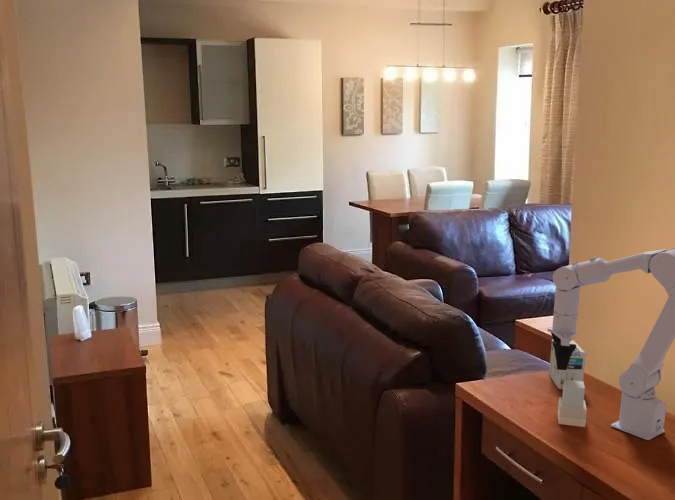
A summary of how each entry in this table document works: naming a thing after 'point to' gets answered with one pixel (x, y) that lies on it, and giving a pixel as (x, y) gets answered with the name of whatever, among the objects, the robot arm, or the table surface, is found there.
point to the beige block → (572, 411)
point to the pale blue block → (573, 393)
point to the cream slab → (571, 421)
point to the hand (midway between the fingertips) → (560, 364)
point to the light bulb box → (573, 370)
